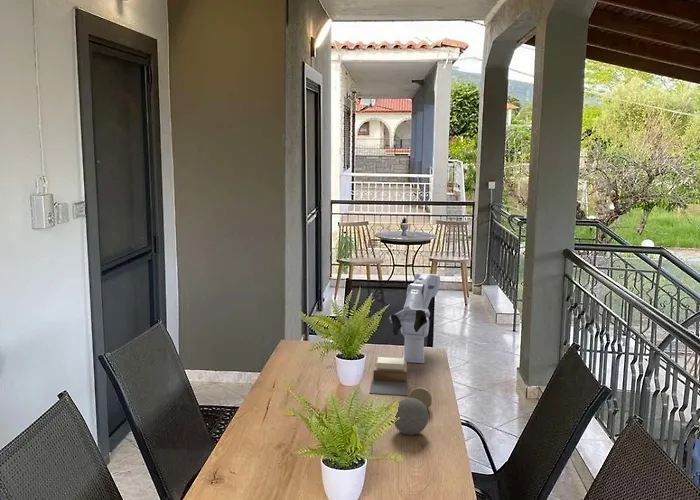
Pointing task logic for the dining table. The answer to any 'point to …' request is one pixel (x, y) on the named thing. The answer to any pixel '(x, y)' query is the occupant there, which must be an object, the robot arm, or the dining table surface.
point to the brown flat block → (390, 374)
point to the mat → (388, 388)
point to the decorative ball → (411, 416)
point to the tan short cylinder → (421, 396)
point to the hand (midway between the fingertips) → (405, 331)
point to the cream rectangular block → (390, 363)
